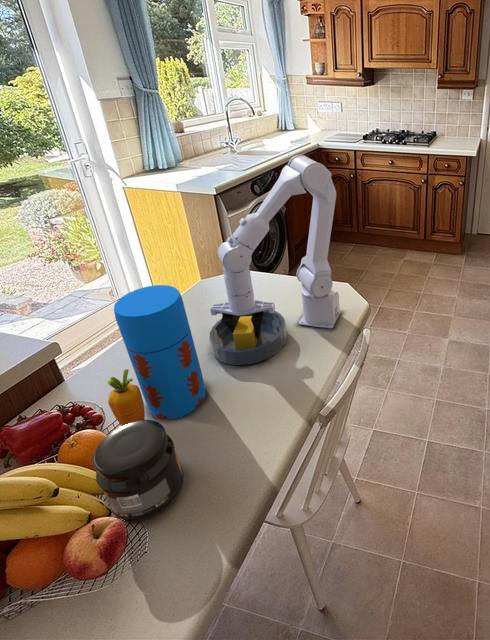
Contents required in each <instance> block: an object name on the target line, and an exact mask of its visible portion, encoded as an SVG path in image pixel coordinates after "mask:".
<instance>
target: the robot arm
mask: <svg viewBox="0 0 490 640" xmlns="http://www.w3.org/2000/svg"><path fill="white" fill-rule="evenodd" d="M306 190H307V191H308V193H310V195H311V196H312V206H311V213H310V221H309V229H308V236H307V237H308V238H307V245H306V253H305V256H303V257H302V258H301V259H300V260H301V261H300V265H299V266H298V268H297V271H296V274H295V275H296V279H297V280H298V282H300V283H301V290H300V292H301V300H302V301H301V302H302V312H303V315H302V316H301V318H300V320H299V322H298V325H299V326H308V327H316V328H324V329H333V328H334V326H335V324H336V322H337V320H338V319H339V316H340V314H341V310H340V295H339V292H338V291H335V290H332V288H333V283H334V282H333V280H332V269H331V266H330V263H329V261H328V256H329V249H330V243H331V235H332V234H331V233H332V228H333V222H334V214H335V209H336V208H335V207H336V201H337V190H336V187H335V185H334V182H333V179H332V172H331V171H330V170H329V169H328V168H327V167H326V166H325V165H324V164H322V163H320V162H317V161H315V160H313V159H311V158H310V157H308V156H306V155H305V154H297V155H294V156H292V157H291V158H290V159H289V160H288V163H287V164H286V165H285V166H284V167H283V168H282V169H281V171H280V175H279V177H278V179H277V180H276V182H275V183H274V185H273V186H272V188H271V189H270V191H269V192H268V194H267V195H266V196H265V199H264V200H263V201H262V203H261V204H260V206H259V207H258V209H257V211H256V212H253V213H249V214H247V215H246V216H245V217H242V218H241V219H240V220H239V221H238V223H239V225H238V227H237V228H236V229H235V231H234V232H233V233H232V235H231V236H228V237H227V238H226V240H225V242H222V243H221V244H220V245H219V247H218V248H217V252H216V257H217V258H218V260H219V261H220V262H221V267H222V273H223V280H224V286H225V290H226V295H227V300H228V301H227V302H221V303H212V304H211V307H210V308H209V310H210V315H211V316H217V315H218V314H221V316H222V317H221V318H220V320H221V321H222V323H224V324H225V325H226V326H227V327H228V328H229V329H230V330H231V332H232V333H233V332H234V330H235V327H236V325H237V323H238V316H241V315H247V314H252V313H253V315H252V318H251V321H252V324H253V327H254V331H255V337H256V338H259V336H260V328H261V322H262V318H263V315H264V313H265V312H269V313H270V314H274V311H276V305H275V302H268V301H263V300H258V299H256V298H255V294H254V293H255V292H254V288H253V282H252V275H251V271H250V265H251V264H252V256H253V253H254V252H255V250H256V248H257V247H258V246H259V244H260V243H261V242H262V240H263V239H264V238H265V237H266V235H267V234H268V232H269V231H270V221H272V219H273V218H274V217H275V215H277V213H278V212H279V211H280V209H281V208H283V206H284V205H285V204H286V202H288V200H289V199H290V198H291V197H292V196H298V195H303V194H307V191H306Z"/></svg>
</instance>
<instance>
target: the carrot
mask: <svg viewBox="0 0 490 640" xmlns="http://www.w3.org/2000/svg"><path fill="white" fill-rule="evenodd" d="M129 371H130V369H129V368H126V369H124V370H123V375H122V381H120V379H118V378H117V377H115V376H113V375H112V376H110V377H109V379H108V381H107V384H108V385H109V386H110V387H111V388H113V389H112V390H111V391H110V392H109V394H108V400H107V403H108V406H109V409H110V411H111V412H112V414H113V417H114V418H115V420H116V421H117V422H118V424H119V425H120V426H124V425H126V424H128V423H131V422H134V421H139V420H146V419H145V418H146V415H145V403H144V399H143V396H142V395H143V394H142V391H141V388H140V386H139V385H136V384H133V383H131V382H132V381H134V378H132V377H131V378H128V374H129Z"/></svg>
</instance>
